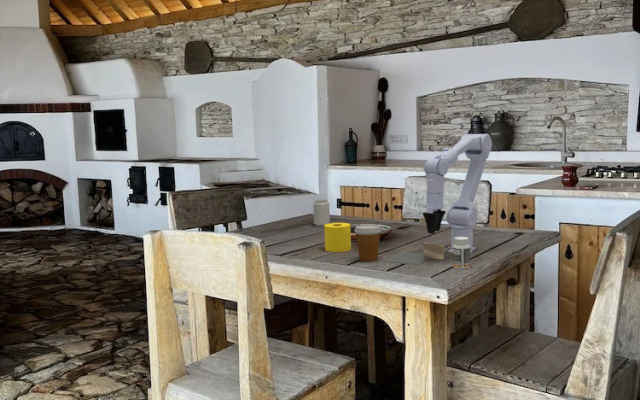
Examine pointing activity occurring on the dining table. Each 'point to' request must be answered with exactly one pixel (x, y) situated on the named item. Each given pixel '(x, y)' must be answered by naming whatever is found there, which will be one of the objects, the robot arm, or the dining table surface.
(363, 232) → the disposable coffee cup
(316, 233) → the dining table surface
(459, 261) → the pill bottle
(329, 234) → the yellow toilet paper roll
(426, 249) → the wooden block
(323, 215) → the can
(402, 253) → the mat
